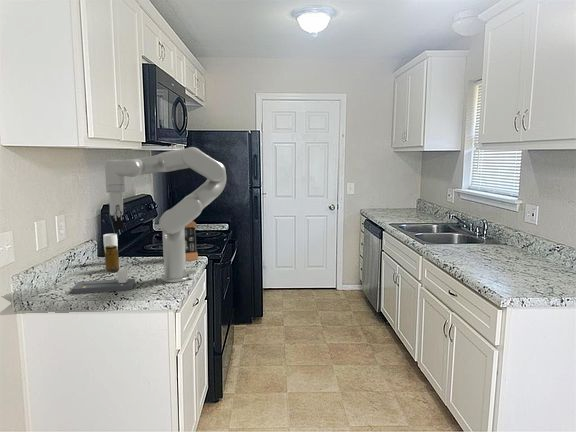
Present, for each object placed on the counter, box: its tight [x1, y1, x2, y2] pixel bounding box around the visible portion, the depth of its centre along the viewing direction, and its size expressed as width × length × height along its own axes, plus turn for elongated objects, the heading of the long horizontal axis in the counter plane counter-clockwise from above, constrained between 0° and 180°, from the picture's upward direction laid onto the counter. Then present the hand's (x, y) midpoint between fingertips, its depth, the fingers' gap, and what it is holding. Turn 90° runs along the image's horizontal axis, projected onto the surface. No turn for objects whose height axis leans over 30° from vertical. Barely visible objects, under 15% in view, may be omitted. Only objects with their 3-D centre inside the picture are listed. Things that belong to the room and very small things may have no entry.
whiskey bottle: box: [185, 220, 199, 261], centre depth 224 cm, size 10×10×32 cm
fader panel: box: [70, 278, 136, 295], centre depth 176 cm, size 23×10×2 cm, turn 102°
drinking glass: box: [102, 233, 119, 253], centre depth 216 cm, size 7×7×15 cm
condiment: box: [103, 245, 126, 273], centre depth 203 cm, size 7×8×12 cm
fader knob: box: [117, 267, 129, 283], centre depth 177 cm, size 3×4×5 cm
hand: (118, 227), depth 182 cm, fingers open, 9 cm apart
